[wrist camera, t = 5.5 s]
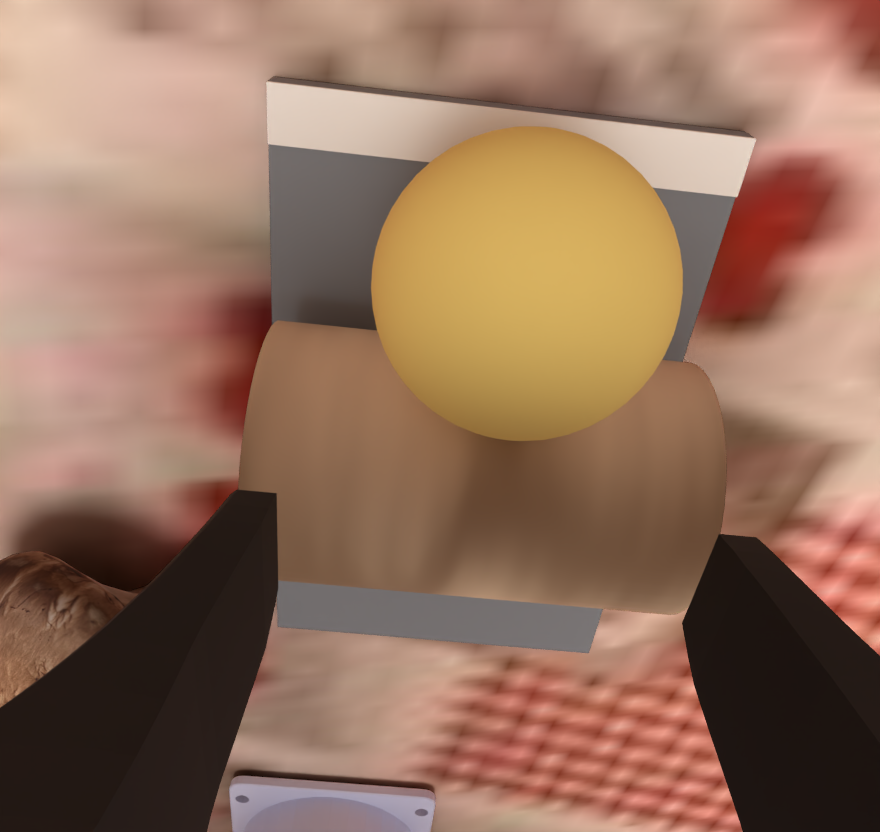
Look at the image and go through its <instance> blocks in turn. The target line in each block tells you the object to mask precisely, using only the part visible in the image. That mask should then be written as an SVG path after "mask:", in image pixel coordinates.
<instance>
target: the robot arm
mask: <svg viewBox="0 0 880 832" xmlns="http://www.w3.org/2000/svg"><path fill="white" fill-rule="evenodd" d="M277 592H278V538H277V493H270V492H259V491H248V490H236V491H235V492H233V493H232V494H230V495H229V497H228V498H227V499H226V500H225V501H224V503H223V504H222V505H221V506H220V507H219V509H218V510H217V511H216V512H215V513H214V515H213V516H212V517H211V518H210V519H209V520H208V521H207V523H206V524H205V525H204V526H203V527H202V528H201V529H200V531H199V532H198V533H197V534H196V535H195V536H194V537H193V538H192V539H191V540H190V541H189V543H188V544H187V545H186V546H185V547H184V548H183V549H182V550H181V551H180V552H179V553H178V554H177V555H176V556H175V557H174V558H173V559H172V561H171V562H170V563H169V564H168V565H167V566H166V567H165V568H164V569H163V570H162V571H161V572H160V573H159V574H158V575H157V576H156V577H155V578H154V579H153V580H152V581H151V582H150V583H149V584H148V585H147V586H146V587H145V588H144V589H143V590H142V591H141V592H140V593H139V594H138V595H137V596H135V597H134V598H133V599H132V600H131V601H130V602H129V603H128V604H127V605H126V606H125V607H124V608H123V609H121V610H120V611H119V612H118V613H117V614H116V615H115V616H114V617H113V618H112V619H111V620H110V621H109V622H107V623H106V624H105V625H104V626H103V627H102V628H101V629H100V630H99V631H97V632H96V633H95V634H94V635H93V636H92V637H90V638H89V639H88V640H87V641H86V642H85V643H83V644H82V645H81V646H80V647H79V648H77V649H76V650H75V651H74V652H73V653H71V654H70V655H69V656H68V657H66V658H65V659H64V660H63V661H61V662H60V663H59V664H58V665H56V666H55V667H54V668H53V669H51V670H50V671H49V672H48V673H46V674H45V675H44V676H42V677H41V678H40V679H38V680H37V681H36V682H34V683H33V684H32V685H30V686H29V687H28V688H26V689H25V690H24V691H22V692H21V693H19V694H18V695H17V696H15V697H14V698H13V699H11V700H10V701H8V702H7V703H6V704H4V705H3V706H2V707H0V832H207V829H208V825H209V820H210V816H211V813H212V809H213V806H214V802H215V799H216V796H217V792H218V789H219V785H220V782H221V779H222V776H223V773H224V770H225V767H226V765H227V762H228V759H229V756H230V753H231V750H232V747H233V744H234V741H235V738H236V735H237V732H238V729H239V726H240V723H241V720H242V717H243V714H244V711H245V708H246V705H247V702H248V699H249V696H250V693H251V690H252V687H253V684H254V681H255V678H256V675H257V672H258V669H259V666H260V663H261V660H262V657H263V654H264V651H265V648H266V644H267V639H268V635H269V630H270V626H271V621H272V616H273V611H274V607H275V602H276V597H277ZM682 625H683V630H684V636H685V642H686V647H687V653H688V658H689V663H690V668H691V672H692V677H693V682H694V686H695V689H696V692H697V695H698V698H699V701H700V704H701V707H702V711H703V714H704V717H705V720H706V723H707V726H708V729H709V732H710V735H711V738H712V741H713V744H714V747H715V750H716V752H717V755H718V758H719V761H720V764H721V767H722V770H723V773H724V776H725V779H726V782H727V785H728V788H729V791H730V794H731V797H732V800H733V803H734V806H735V809H736V812H737V815H738V818H739V820H740V824H741V827H742V830H743V832H880V656H879V655H878V654H877V653H876V652H875V651H874V650H873V649H872V648H871V647H870V646H869V645H868V644H866V643H865V642H864V641H863V640H862V639H861V638H860V637H859V636H858V635H857V634H856V633H855V632H854V631H853V630H852V629H851V628H850V627H849V626H848V625H846V624H845V623H844V622H843V621H842V620H841V619H840V618H839V617H838V616H837V615H836V614H835V613H834V612H833V611H832V610H831V609H830V608H829V607H828V606H827V605H826V604H825V603H824V602H823V601H822V600H821V599H820V598H819V597H818V596H817V595H816V594H815V593H814V592H813V591H812V590H811V589H810V588H809V587H808V586H807V585H806V584H805V583H804V582H803V581H802V580H801V579H800V578H798V577H797V576H796V575H795V574H794V573H793V572H792V571H791V570H790V569H789V568H788V567H787V566H786V565H785V564H784V563H783V562H782V561H781V560H780V559H779V558H778V557H777V556H776V555H775V554H774V553H773V552H772V551H771V550H770V549H769V548H768V547H766V546H765V545H764V544H763V543H762V542H761V541H760V540H759V539H758V538H756V537H745V536H735V535H724V534H719V535H718V537H717V540H716V542H715V544H714V547H713V549H712V552H711V554H710V557H709V559H708V561H707V564H706V566H705V569H704V571H703V574H702V576H701V579H700V581H699V583H698V586H697V588H696V591H695V593H694V596H693V598H692V600H691V603H690V605H689V608H688V610H687V613H686V615H685V617H684V620H683V622H682ZM229 795H230V807H231V818H232V830H233V832H431V827H432V821H433V816H434V810H435V802H436V797H435V794H434V793H433V792H432V791H430V790H426V789H416V788H403V787H390V786H376V785H363V784H350V783H337V782H324V781H310V780H297V779H284V778H271V777H258V776H244V775H243V776H237V777H234V778H233V779H232V781H231V784H230V788H229Z"/></svg>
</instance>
